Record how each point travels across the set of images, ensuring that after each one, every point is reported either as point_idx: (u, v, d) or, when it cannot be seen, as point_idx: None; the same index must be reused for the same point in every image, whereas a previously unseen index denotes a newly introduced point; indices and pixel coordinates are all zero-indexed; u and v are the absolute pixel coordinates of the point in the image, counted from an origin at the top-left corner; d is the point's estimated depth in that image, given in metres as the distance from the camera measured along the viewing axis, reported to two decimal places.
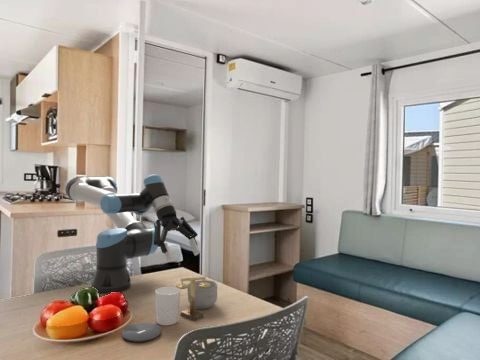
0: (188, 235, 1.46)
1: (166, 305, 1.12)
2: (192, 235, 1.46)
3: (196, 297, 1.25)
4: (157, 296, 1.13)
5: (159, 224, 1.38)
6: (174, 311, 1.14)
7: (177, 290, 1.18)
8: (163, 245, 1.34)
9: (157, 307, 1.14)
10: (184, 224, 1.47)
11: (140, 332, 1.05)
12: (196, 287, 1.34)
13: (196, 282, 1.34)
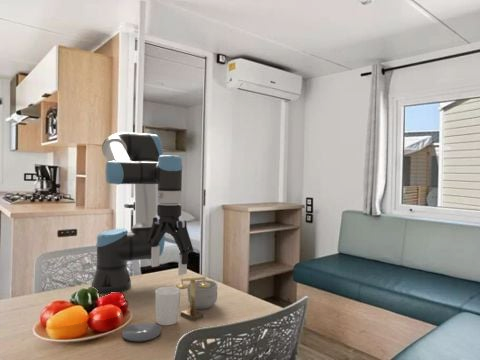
0: None
1: (166, 305, 1.12)
2: (180, 250, 1.10)
3: (196, 297, 1.25)
4: (157, 296, 1.13)
5: (153, 223, 1.19)
6: (174, 311, 1.14)
7: (177, 290, 1.18)
8: (152, 248, 1.20)
9: (157, 307, 1.14)
10: None
11: (140, 332, 1.05)
12: (196, 287, 1.34)
13: (196, 282, 1.34)
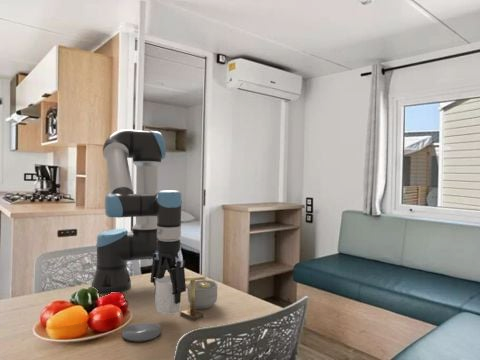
0: None
1: (166, 294, 1.13)
2: (174, 289, 1.12)
3: (196, 297, 1.25)
4: (157, 285, 1.13)
5: (153, 260, 1.19)
6: None
7: None
8: None
9: (157, 296, 1.14)
10: None
11: (140, 332, 1.05)
12: (196, 287, 1.34)
13: (196, 282, 1.34)
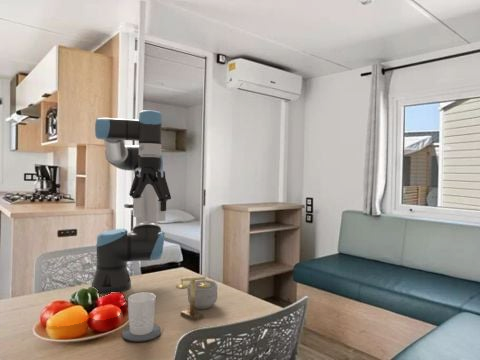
0: None
1: (139, 313, 1.03)
2: (159, 198, 1.18)
3: (196, 297, 1.25)
4: (130, 303, 1.04)
5: (135, 176, 1.26)
6: (148, 319, 1.04)
7: (153, 296, 1.09)
8: None
9: (130, 315, 1.04)
10: None
11: None
12: (196, 287, 1.34)
13: (196, 282, 1.34)
